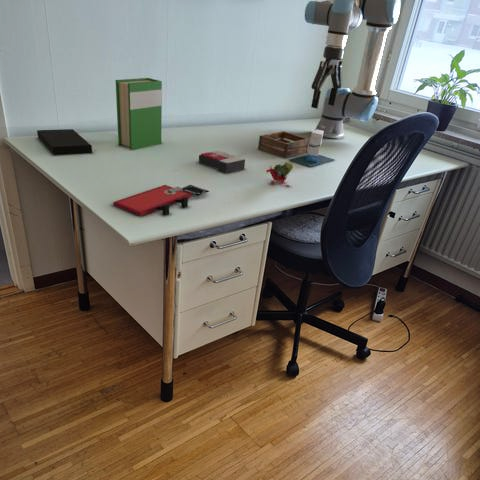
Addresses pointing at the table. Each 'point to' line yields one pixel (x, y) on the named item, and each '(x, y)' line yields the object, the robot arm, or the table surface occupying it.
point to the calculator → (222, 161)
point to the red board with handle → (158, 199)
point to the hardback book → (139, 112)
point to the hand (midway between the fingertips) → (323, 106)
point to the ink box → (314, 145)
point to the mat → (308, 163)
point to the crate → (283, 144)
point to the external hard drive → (64, 142)
